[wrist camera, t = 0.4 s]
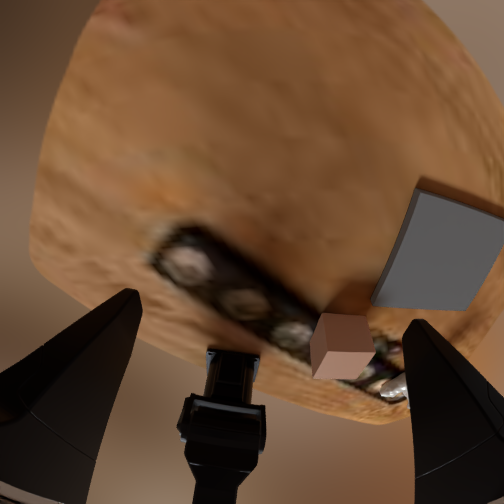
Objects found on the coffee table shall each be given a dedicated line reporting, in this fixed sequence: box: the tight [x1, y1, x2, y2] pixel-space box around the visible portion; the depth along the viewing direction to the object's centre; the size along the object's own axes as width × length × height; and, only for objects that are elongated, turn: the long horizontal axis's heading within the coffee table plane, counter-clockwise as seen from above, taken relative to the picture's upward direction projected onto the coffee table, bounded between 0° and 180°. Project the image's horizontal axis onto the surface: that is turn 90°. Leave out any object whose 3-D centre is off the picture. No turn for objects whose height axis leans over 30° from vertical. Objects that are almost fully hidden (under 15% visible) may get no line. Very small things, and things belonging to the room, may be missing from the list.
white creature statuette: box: [380, 372, 410, 409], centre depth 29 cm, size 10×9×12 cm
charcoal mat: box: [370, 188, 504, 311], centre depth 22 cm, size 12×14×1 cm
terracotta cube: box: [310, 313, 376, 379], centre depth 26 cm, size 5×5×5 cm
